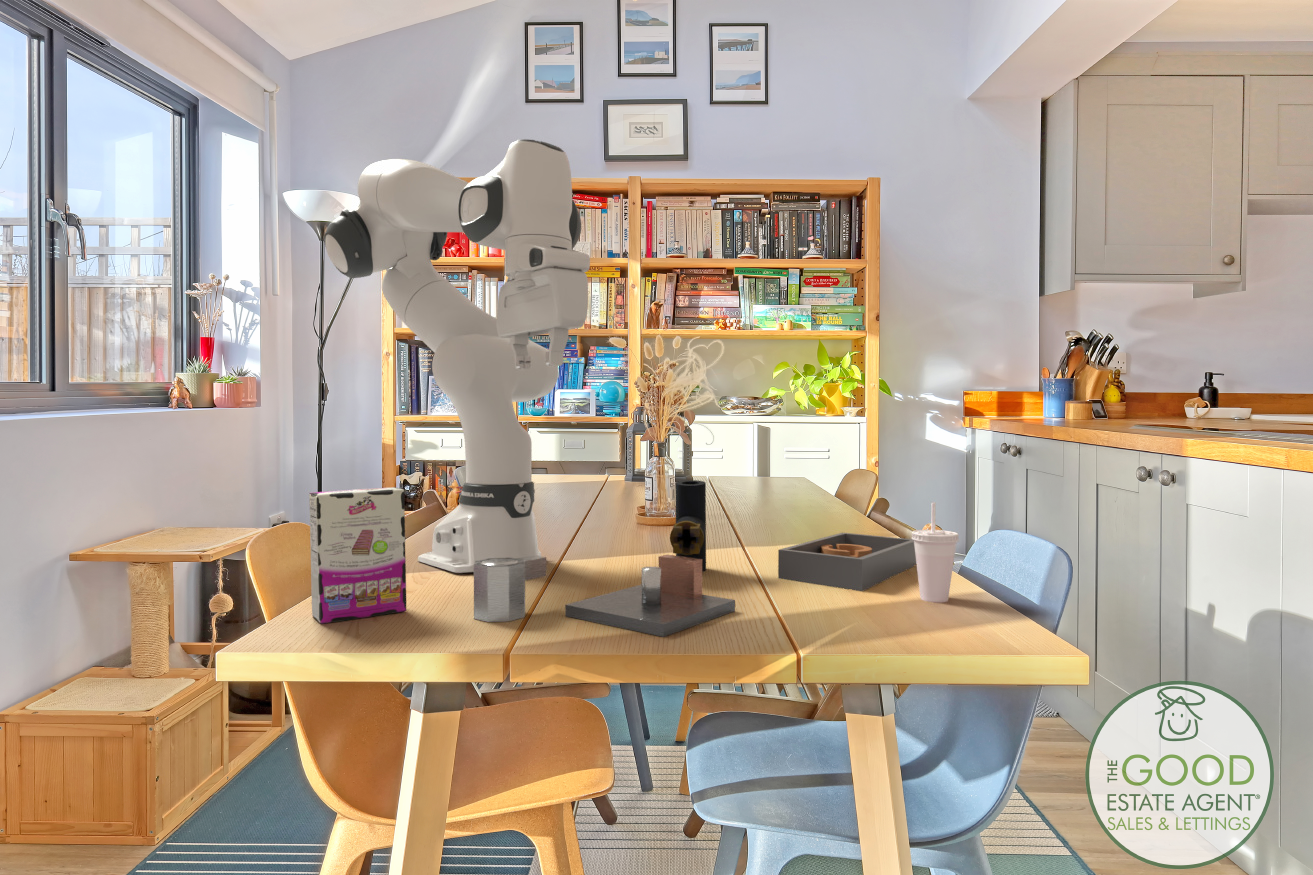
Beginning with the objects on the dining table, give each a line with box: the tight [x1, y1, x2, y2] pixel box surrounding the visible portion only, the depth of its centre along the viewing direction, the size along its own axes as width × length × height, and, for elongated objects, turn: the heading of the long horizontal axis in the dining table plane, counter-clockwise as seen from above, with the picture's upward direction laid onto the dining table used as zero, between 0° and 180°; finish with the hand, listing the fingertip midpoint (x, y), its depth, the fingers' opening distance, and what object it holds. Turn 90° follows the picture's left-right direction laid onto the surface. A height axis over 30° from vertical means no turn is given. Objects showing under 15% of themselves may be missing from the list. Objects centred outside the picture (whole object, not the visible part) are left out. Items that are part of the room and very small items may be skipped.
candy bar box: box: [308, 486, 407, 624], centre depth 105 cm, size 11×5×16 cm, turn 126°
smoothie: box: [911, 502, 960, 603], centre depth 114 cm, size 6×6×14 cm
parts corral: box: [777, 532, 917, 592], centre depth 133 cm, size 14×24×5 cm, turn 143°
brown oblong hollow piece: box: [821, 544, 872, 558], centre depth 140 cm, size 18×8×7 cm, turn 13°
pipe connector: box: [669, 479, 707, 573], centre depth 130 cm, size 12×5×15 cm, turn 173°
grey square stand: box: [564, 554, 736, 638], centre depth 106 cm, size 16×16×6 cm
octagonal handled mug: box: [473, 555, 547, 623], centre depth 107 cm, size 6×10×7 cm, turn 143°
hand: (537, 367), depth 108 cm, fingers open, 8 cm apart
